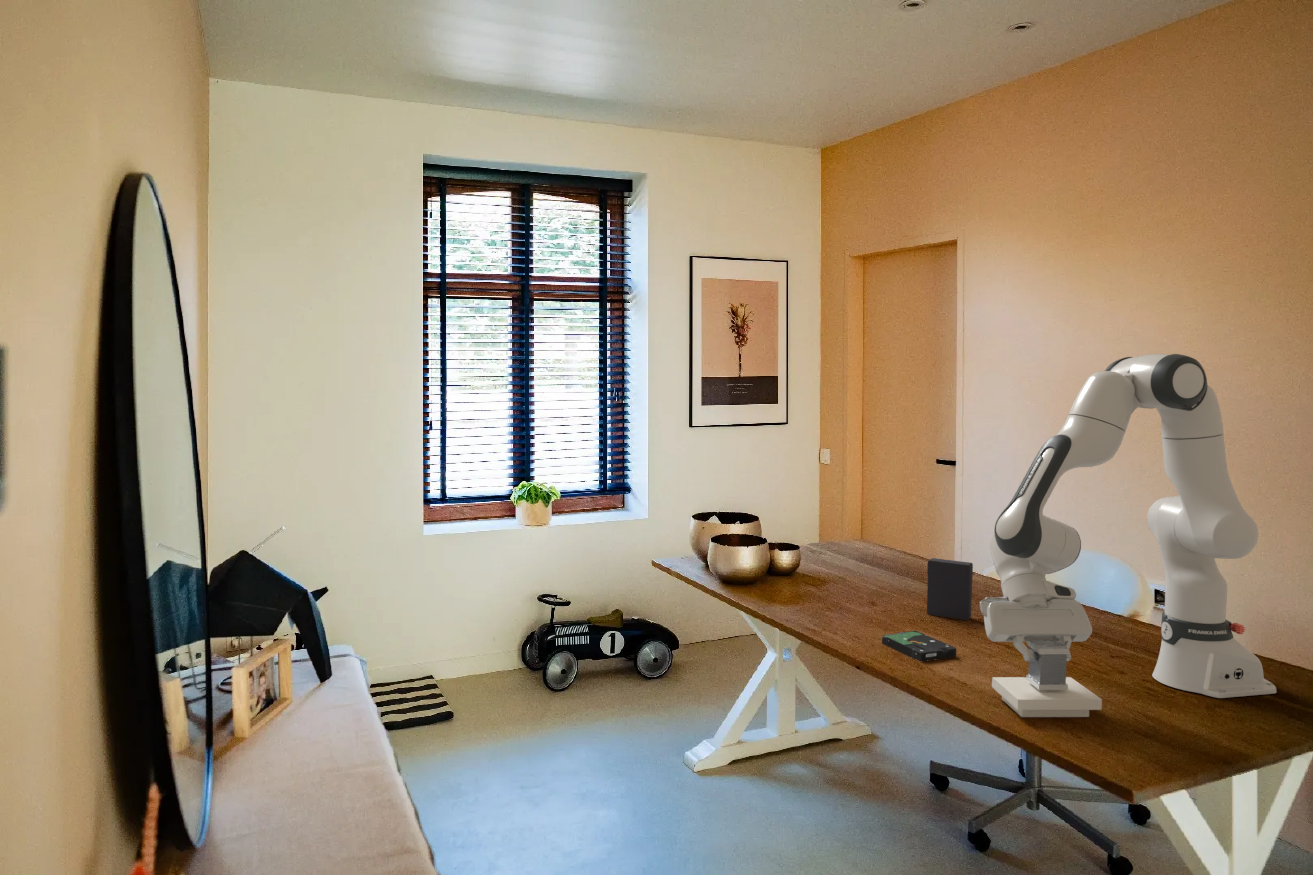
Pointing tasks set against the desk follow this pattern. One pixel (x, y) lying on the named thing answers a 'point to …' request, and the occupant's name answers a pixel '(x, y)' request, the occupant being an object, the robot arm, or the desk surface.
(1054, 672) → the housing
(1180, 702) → the desk surface
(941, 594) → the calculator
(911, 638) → the disk drive
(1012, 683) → the stand
